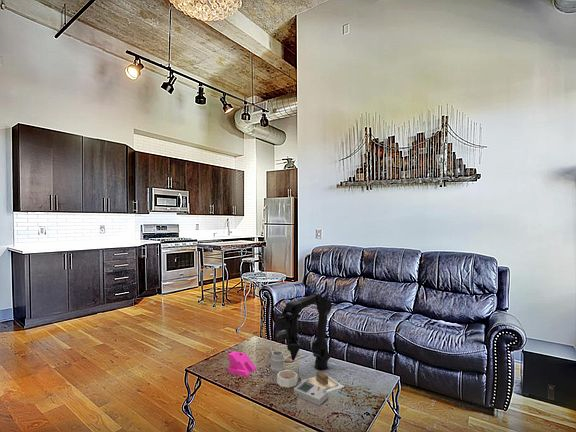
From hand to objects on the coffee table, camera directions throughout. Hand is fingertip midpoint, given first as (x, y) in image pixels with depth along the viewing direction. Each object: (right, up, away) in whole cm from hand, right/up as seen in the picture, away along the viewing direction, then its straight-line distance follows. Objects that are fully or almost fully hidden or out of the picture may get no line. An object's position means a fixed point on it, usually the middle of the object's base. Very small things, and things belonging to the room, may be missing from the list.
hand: (292, 356), depth 171 cm
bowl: (-3, -13, -2) cm, 13 cm away
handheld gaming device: (+9, -13, -15) cm, 22 cm away
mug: (-10, -13, +13) cm, 21 cm away
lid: (+15, -13, -3) cm, 20 cm away
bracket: (-28, -13, +11) cm, 33 cm away
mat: (+15, -13, -3) cm, 21 cm away
